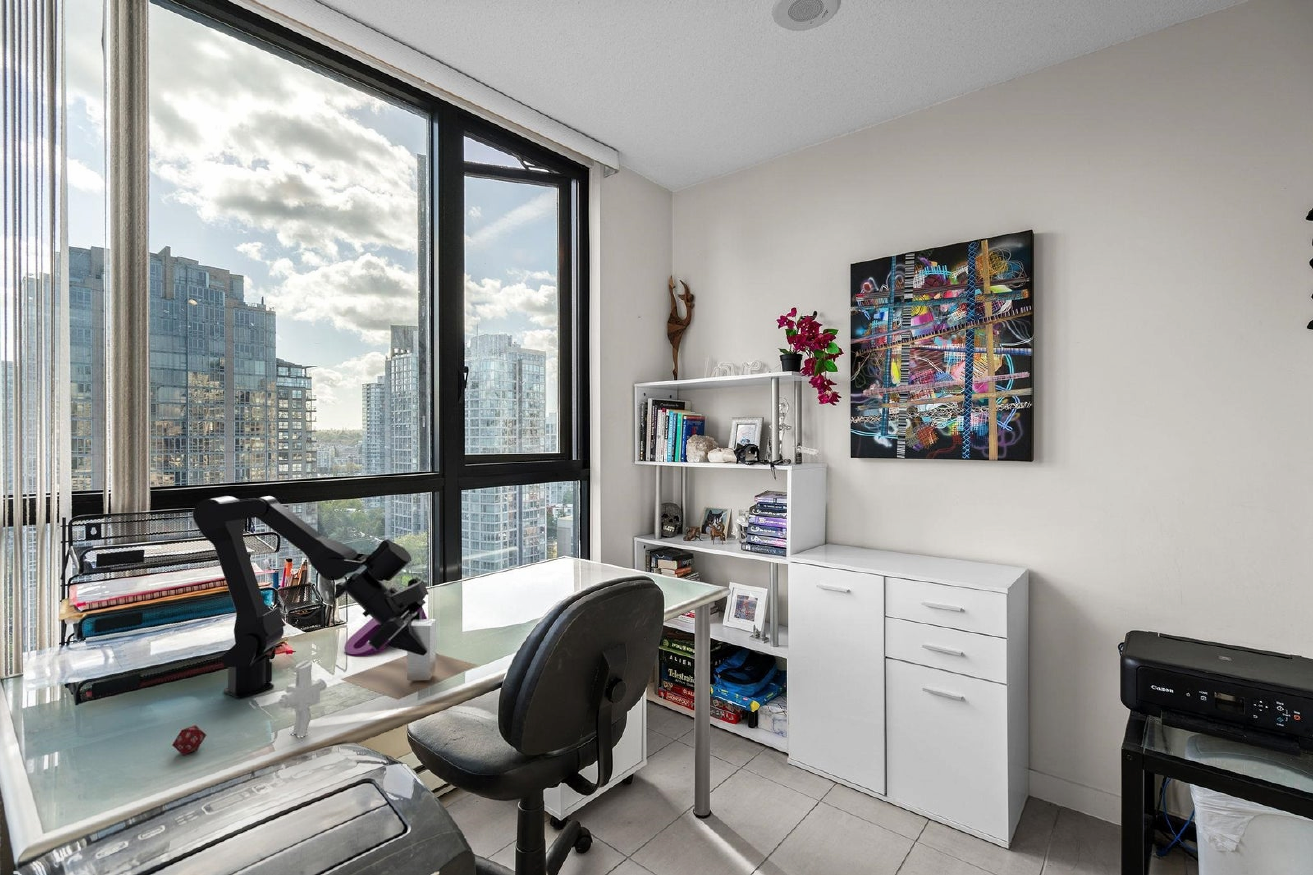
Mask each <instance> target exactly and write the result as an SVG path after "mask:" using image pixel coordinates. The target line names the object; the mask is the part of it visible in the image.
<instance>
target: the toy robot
mask: <svg viewBox="0 0 1313 875" xmlns="http://www.w3.org/2000/svg"><path fill="white" fill-rule="evenodd" d="M312 665H313V662H312V661H311V660H304V661H301V662H299V663H297V664H296V666H295V677H296V678H295V682H292V683H291V684H288V685H286V693H284V694H282V695H281V696H280V699H279V700H278V705H279V707H280V708H283V709H285V710H288V709H289V708H291V709H294V711H295V717H296V718H295V721H294V725H293V730H292V732H290V734H293V736H295V735H294V734H297V735H296V736H299V737H301V736H305V735H306V734H307V735H308V728H309V726H310V725H309V724H310V722H311V719H312V715H311V709H310V707H312V706H316V705H318V704H319V703H321V692H322V691H324V690H326V689H327V687H328V686H327V682H326V681H325V680H324V679H322V678H318V679H316V680H314V679H312V668H313V666H312ZM307 735H306V736H307ZM306 736H305V737H306Z"/></svg>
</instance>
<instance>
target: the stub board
mask: <svg viewBox="0 0 1313 875" xmlns="http://www.w3.org/2000/svg"><path fill="white" fill-rule="evenodd" d="M477 666H478V664H475V663H471V662H468V661H464V660H462V659H458V658H454V657H452V656H451V657H450V656H446V655H443V654H439V653H435V672H434V674H433V675H432V677H431V678H430V680H409V681H407V654H405V655H404V656H401V657H398V658H396V659H393V660H390V661H386V662H385V663H382V664H381V663H380V664H378V665H377V666H373V667H371V668H368V669H365V670H363V671H359V672H357V673H354V674H351V675H349V676H346V677H343V678H341V680H342V681H345V682H347V683H350V684H352V685H356V686H359V687H362V688H364V689H367V690H369V691H373V692H375V693H378V694H382V695H383V696H387V697H389V698H392V699H394V700H401V699H403V698H405V697H407V696H410V695H412V694H414V693H417V692H419V691H422V690H424V689H427V688H428V687H430V686H433V685H435V684H438V683H440V682H442V681H445V680H447V679H449V678H452V677H454V676H456V675H458V674H461V673H464V672H466V671H467V670H471V669H473V668H474V667H477Z"/></svg>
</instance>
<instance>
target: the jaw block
mask: <svg viewBox="0 0 1313 875" xmlns="http://www.w3.org/2000/svg"><path fill="white" fill-rule="evenodd" d="M411 630H412V632H413V633H414V635H415V636H416V637H417V638H418V640H419V641H420V642H421V643H422V645H423V646H424V647H425V649H426V650H427V653H426V654H425V655H424V656H422V655H419V654H415V653H412V652H409V651H406V652H407V653H406V655H407V681H409V680H430V678H431V677H432V675H433V674H434V672H435V653H436V652H437V650H436V649H437V647H436V646H437V644H436V643H437V642H436V641H437V640H436V639H437V636H436V635H437V619H436V618H429V619H428V618H427V619H414V620H413V621H412V622H411Z"/></svg>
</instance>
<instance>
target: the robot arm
mask: <svg viewBox="0 0 1313 875" xmlns="http://www.w3.org/2000/svg"><path fill="white" fill-rule="evenodd" d="M254 518H256V519H258V520H259V521H261V522H262V523H263V524H265V525H266V526H267V527H269V528H270V529H272V530H273V531H274V532H275V533H277V534H278V535H279V536H281V537H282V538H283V539H284V540H286V541H287V542H289V543H290V544H291V545H293V546H294V547H295V548H297V549H298V550H299V551H301V552H302V553H303V554H304V555H305V556H306V557H307V559H308V562H310V563H309V564H310V565H311V567H312V568H313V569H314V570H315V571H316V572H317V573H318V574H319V575H320V576H321V578H323V579H324V580H327V581H338V580H341V579H343V578H344V577H346V576H348V575H350V574H351V573H352V574H351V575H350V576H349V577H348V578H347V579H346V580H345V581H344V582H342V581H340V582H338V583H336V584H335V585H334V587H335V593H334V599H339V598H341V597H342V596H344V595H345V594H347V595H348V596H350V597H351V599H352V600H354V601H355V603H356V604H357V605H359V606H360V607H361V608H362V609H363V612H362V616H364V617H365V618H366V617H368V616H370V617H371V619H372V618H373V619H374V620H375V621H376V622H378V623H379V624H380V626H379V627H378V630H377V631H376V632H375V633H374V634H373V635H372V636H371V637H369V641H368V642H369V645H370V646H371V647H372V648H373V649H374V650H375V651H377V650H378V649H379V648H380V647H381V646H382V645H383V644H384V643H385V642H386V641H387V640H388V639H389V640H390V641H389V642H388V643H387V644H386V645H385V648H387V647H389V648H395V649H398V650H403V651H406V652H407V651H409V652H412V653H415V654H419V655H422V656H424V655H425V654H426V653H427V650H426V649H425V647H424V646H423V645H422V643H421V642H420V641H419V640H418V638H417V637H416V636H415V635H414V633H413V632H412V630H411V622H412V621H413V620H414V619H422V612H423V610H424V608H423V606H424V605H425V604H426V601H425V600H424V599H425V598H426V596H428V595H429V591H428V589H427V586H428V584H427V582H425V581H424V579H420V578H419V577H417V576H416V577H414V578H411V579H409V580H408V581H407V586H405V587H404V588H401V589H400V590H397V588H395V587H390V588H387V586H386V585H384V583H382V582H383V581H386V582H391V581H392V580H393V579H394V578H395V577H396V576H398V574H399V573H401V571H402V570H404V569H405V567H406V566H407V565H408V564H409V563H411V562H412V557H411V555H410V553H409V551H408V550H406V548H405V547H404V546H401V545H400V544H397V543H396V542H393V541H392V540H390V539H389V538H386V539H384V540H382V542H380V544H378V546H377V547H376V549H374V550H373V551H372V552H371V553H364V552H357V551H356V550H355V549H354V548H352V547H350V546H348V545H346V544H344V543H342V542H340V541H338V540H334V539H331V538H328V537H326V536H325V535H322V533H320V532H318V531H317V530H316V529H315V528H313V527H312V526H311V525H309V523H307V522H305V521H304V520H303V519H301V518H300V517H298V515H296V514H295V513H294V512H292V511H291V510H290V509H288V508H287V507H285V506H284V505H283V504H281V503H280V502H279V500H278V499H277V498H276V497H273V496H271V495H268V496H261V497H253V498H244V499H239V498H236V497H234V496H232V495H231V496H229V495H224V496H219V497H213V498H208V499H203V500H201V501H199V502H198V503H197V504H196V506H195V507H194V508H193V509H192V519H193V521H194V523H195V525H196V526H197V529H198V530H199V532H200V533H201V535H203V537H204V538H205V539H207V540H208V541H209V542H210V543H211V544H212V545H213V548H214V549H215V552H216V556H217V559H218V562H219V564H220V565H219V566H220V567H221V570H222V573H223V577H224V579H225V584H226V585H227V589H228V591H229V596H230V598H231V601H232V603H233V607H234V610H235V614H236V617H235V622H234V628H233V634H234V643H235V644H233V646H231V648H229V649H228V650H227V651H226V652H225V653H224V654H223V655H222V656H221V659H220V660H221V661H222V665H223V667H224V668H227V687H226V688H223V690H222V691H223V693H226V694H227V695H230V696H232V697H234V698H236V699H243V698H247V697H249V696H253V695H255V694H258V693H261V692H264V691H267V690H269V689H272V688H274V687H275V684H274V683H272V681H273V661H271V655H269V653H272V652H273V651H274V649H275V646H276V644H278V643H279V642H280V641H281V639H282V638H283V636H284V634H285V629H284V627H286V623H285V622H284V620H283V618H282V614H281V613H282V612H281V609H280V607H276V608H274V609H272V608H271V607H270V606H268V605H267V604H266V602H265V600H264V598H263V595H262V591H261V588H260V586H259V583H258V580H257V576H256V573H255V569H254V567H253V564H252V560H251V558H250V556H249V552H248V549H247V547H246V543H245V540H244V530H245V526H246V525H245V524H246V519H254ZM364 567H366V568H365V569H363V570H362V572H361V573H359V572H356V571H359V570H360V569H362V568H364ZM421 607H422V608H423V609H421V610H420V611H419V612H418V613H417V612H416V611H417V610H418V609H420V608H421Z"/></svg>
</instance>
